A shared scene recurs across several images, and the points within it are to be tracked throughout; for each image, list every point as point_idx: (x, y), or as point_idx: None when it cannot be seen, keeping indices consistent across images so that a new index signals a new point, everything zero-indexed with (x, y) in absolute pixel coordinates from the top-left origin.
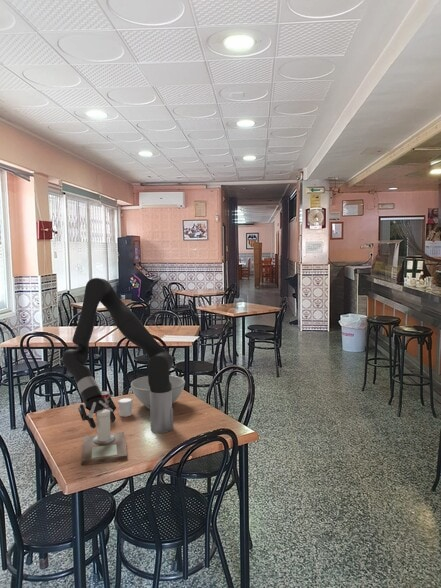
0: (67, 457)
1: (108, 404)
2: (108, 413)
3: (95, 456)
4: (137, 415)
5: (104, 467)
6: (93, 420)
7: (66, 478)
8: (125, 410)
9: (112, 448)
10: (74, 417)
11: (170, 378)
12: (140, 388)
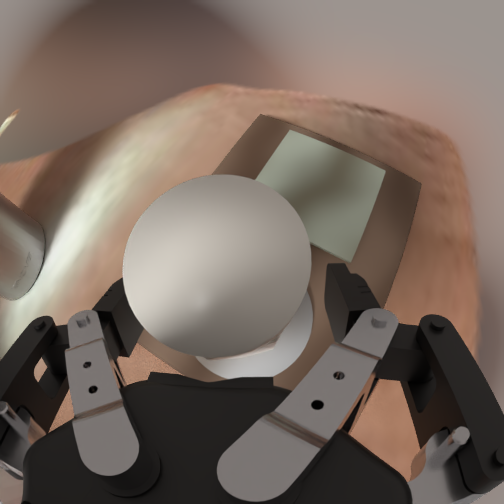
0: (443, 293)
1: (40, 429)
2: (191, 187)
3: (369, 169)
4: None
5: (350, 130)
6: (345, 290)
7: (458, 159)
8: (16, 481)
9: (276, 181)
10: None
11: None
12: None
